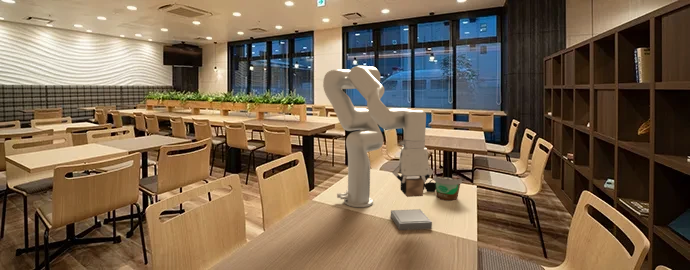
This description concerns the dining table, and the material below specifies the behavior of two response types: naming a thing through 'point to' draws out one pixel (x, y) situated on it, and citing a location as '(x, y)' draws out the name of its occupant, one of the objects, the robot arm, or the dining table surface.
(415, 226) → the tray
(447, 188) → the food container
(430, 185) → the sunglasses
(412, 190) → the cube
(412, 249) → the dining table surface
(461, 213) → the dining table surface
